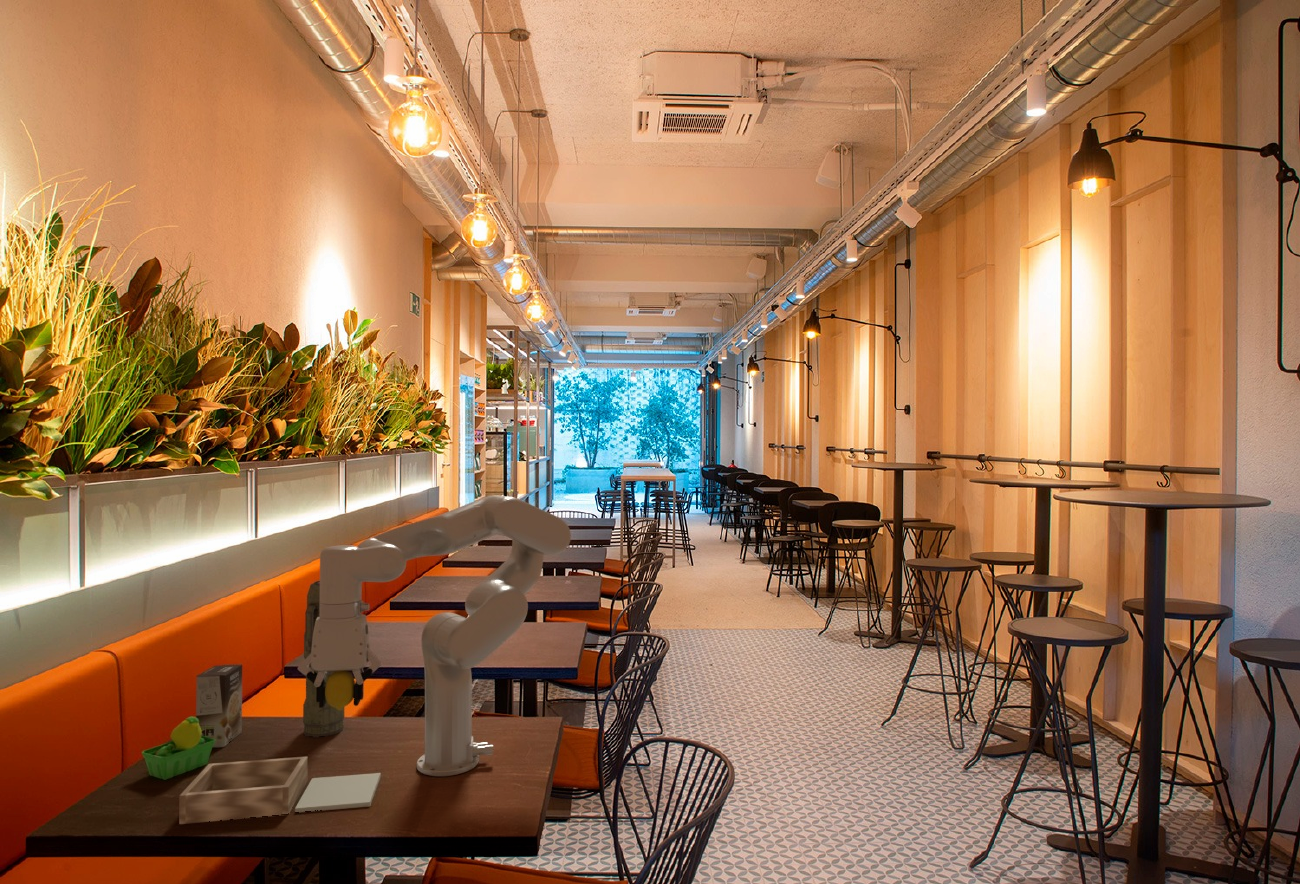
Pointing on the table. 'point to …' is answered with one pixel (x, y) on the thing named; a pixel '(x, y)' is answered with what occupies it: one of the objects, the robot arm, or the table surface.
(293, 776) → the brown wooden tray
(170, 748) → the fruit basket
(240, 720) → the coffee box
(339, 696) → the lemon
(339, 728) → the thermos
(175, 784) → the table surface
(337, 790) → the board
